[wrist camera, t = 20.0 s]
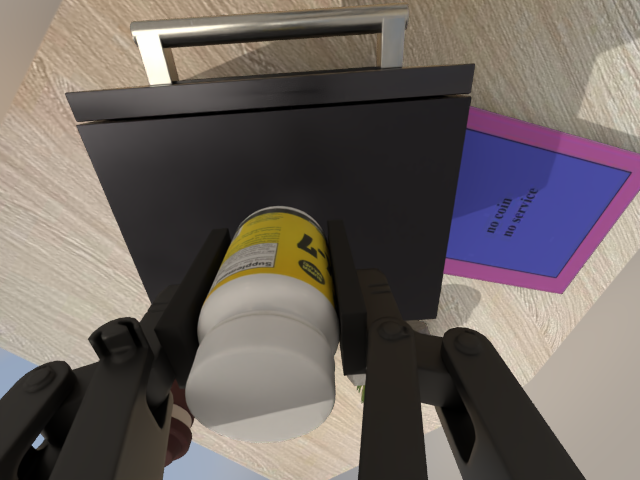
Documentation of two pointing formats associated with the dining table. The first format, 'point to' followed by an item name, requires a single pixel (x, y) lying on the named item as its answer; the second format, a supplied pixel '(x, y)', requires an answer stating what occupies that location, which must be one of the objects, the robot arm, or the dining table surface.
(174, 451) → the coffee cup
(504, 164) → the book
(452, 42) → the dining table surface
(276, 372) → the supplement bottle
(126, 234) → the oven
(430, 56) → the dining table surface
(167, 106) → the oven door
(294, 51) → the dining table surface
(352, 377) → the potted plant
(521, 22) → the dining table surface
